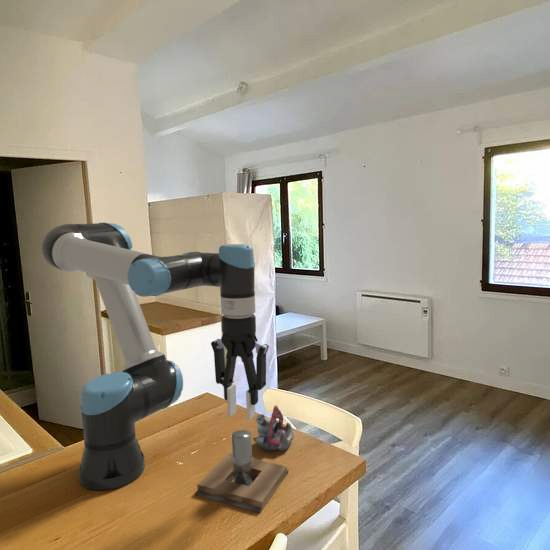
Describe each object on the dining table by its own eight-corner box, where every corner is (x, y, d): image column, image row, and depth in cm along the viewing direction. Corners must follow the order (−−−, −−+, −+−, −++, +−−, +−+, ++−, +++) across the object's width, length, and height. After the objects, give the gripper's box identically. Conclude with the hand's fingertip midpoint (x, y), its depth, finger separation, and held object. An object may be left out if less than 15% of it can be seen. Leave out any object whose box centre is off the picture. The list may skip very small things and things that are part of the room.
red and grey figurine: (293, 450, 110) (265, 410, 111) (262, 469, 114) (235, 430, 115) (305, 429, 120) (280, 393, 122) (276, 447, 124) (252, 412, 125)
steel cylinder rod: (230, 486, 99) (228, 437, 98) (239, 476, 103) (237, 428, 102) (247, 491, 98) (245, 441, 96) (255, 480, 102) (254, 432, 100)
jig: (195, 494, 97) (195, 486, 97) (230, 458, 111) (230, 451, 111) (260, 513, 90) (260, 504, 90) (288, 472, 104) (288, 464, 104)
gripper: (195, 315, 95) (200, 416, 98) (266, 321, 88) (269, 429, 92) (213, 308, 102) (217, 403, 105) (281, 313, 95) (282, 414, 98)
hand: (241, 415), depth 98 cm, fingers open, 4 cm apart
